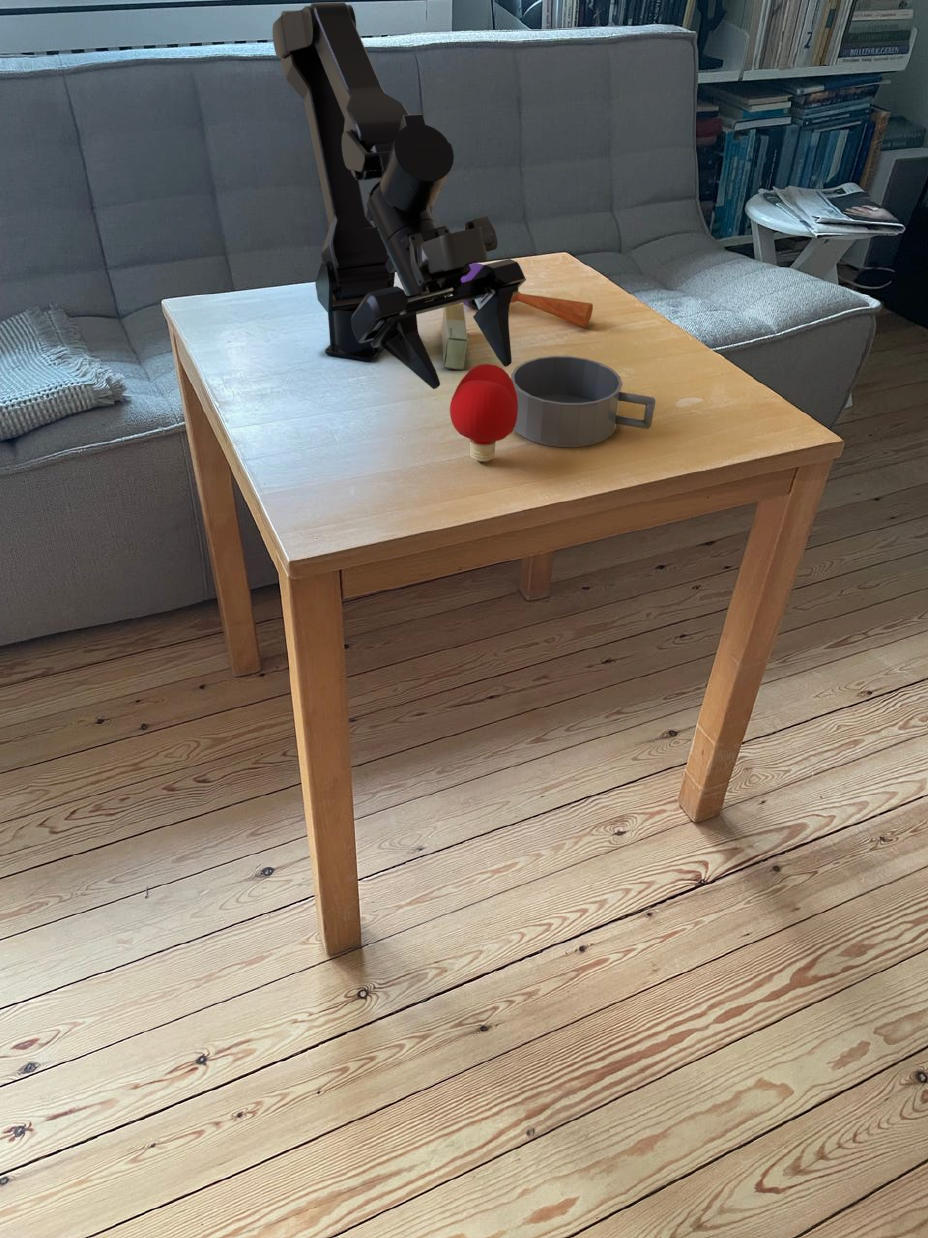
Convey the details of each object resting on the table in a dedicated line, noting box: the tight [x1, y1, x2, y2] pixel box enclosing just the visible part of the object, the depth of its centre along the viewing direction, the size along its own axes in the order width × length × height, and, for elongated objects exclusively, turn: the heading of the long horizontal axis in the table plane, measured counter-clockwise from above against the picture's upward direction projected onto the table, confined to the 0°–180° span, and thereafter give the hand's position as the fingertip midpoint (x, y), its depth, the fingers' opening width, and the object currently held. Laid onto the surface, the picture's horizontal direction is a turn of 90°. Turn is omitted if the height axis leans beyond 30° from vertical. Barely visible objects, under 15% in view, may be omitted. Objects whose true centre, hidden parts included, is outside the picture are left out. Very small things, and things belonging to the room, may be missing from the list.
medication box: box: [440, 303, 469, 371], centre depth 120 cm, size 12×3×4 cm, turn 3°
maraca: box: [461, 262, 594, 329], centre depth 130 cm, size 6×6×20 cm
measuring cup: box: [510, 355, 657, 448], centre depth 105 cm, size 16×12×5 cm
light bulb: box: [449, 363, 518, 464], centre depth 97 cm, size 9×7×10 cm
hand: (473, 375), depth 95 cm, fingers open, 9 cm apart
